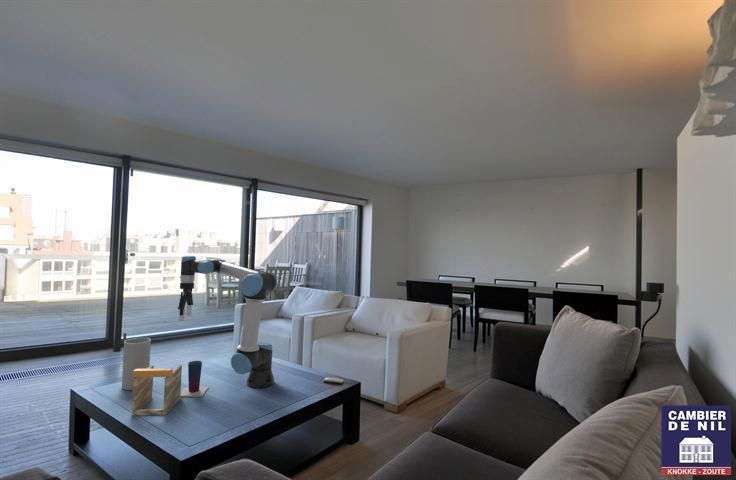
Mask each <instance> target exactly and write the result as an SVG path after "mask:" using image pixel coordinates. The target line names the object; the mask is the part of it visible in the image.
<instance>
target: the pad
mask: <svg viewBox="0 0 736 480" xmlns="http://www.w3.org/2000/svg"><path fill="white" fill-rule="evenodd" d="M182 389H183V390H181V395H180V398H201V397H202V398H203V397H204V395H205V394H206V392H207V391H208V390H209V386H199V391H198V392H194V393H191V392H189V386H185V387H184V388H182Z"/></svg>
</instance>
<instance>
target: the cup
mask: <svg viewBox="0 0 736 480" xmlns="http://www.w3.org/2000/svg"><path fill="white" fill-rule="evenodd" d="M187 367H188V368H187V370H188V371H187V372H188V373H187V375H188V387H189V392H191V393H194V392H198V391H199V387H201V386H200V384H201V376H202V375H201V374H202V367H203V361H202V360H191V361H189V362H188V363H187Z"/></svg>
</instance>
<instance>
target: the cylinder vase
mask: <svg viewBox="0 0 736 480" xmlns="http://www.w3.org/2000/svg"><path fill="white" fill-rule="evenodd" d="M151 343H152V339H151V338H150V337H134V338H128V339H125V340H124V341H123V352H122V353H123V358H122V374H121V376H122V377H121V378H122V379H121V389H123V390H125V391H133V379H134V378H135V377H133V371H134V370H135V369H147V368H148V367H149V366H150V364H151V362H150V361H151Z"/></svg>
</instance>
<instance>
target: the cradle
mask: <svg viewBox="0 0 736 480" xmlns="http://www.w3.org/2000/svg"><path fill="white" fill-rule="evenodd" d="M154 366H155V365H150V366H149V367H148V368H147V369H155V368H154ZM182 370H183V365H182V364H179V365H177V367H175V368H174V369H173V373H172V376H171V377H164V385H163V386H164V387H163V390H164V391H163V393H164V394H163V408H144V407H145V406H146V405H147V404H148V403H149V402H150V401H151V400H152V399H153V386H154V377H135V378H134V379H133V390H132V396H131V397H132V399H131V416H155V415H156V416H158V415H163V416H164V415H167V414H169V412H170V411H171V410H172V409H173V407H174V406H175V405H176V404H177V403H178V401H179V400H180V399H181V397H180V395H181V392H182V390H181V389H182V373H183V372H182ZM143 408H144V409H143Z"/></svg>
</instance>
